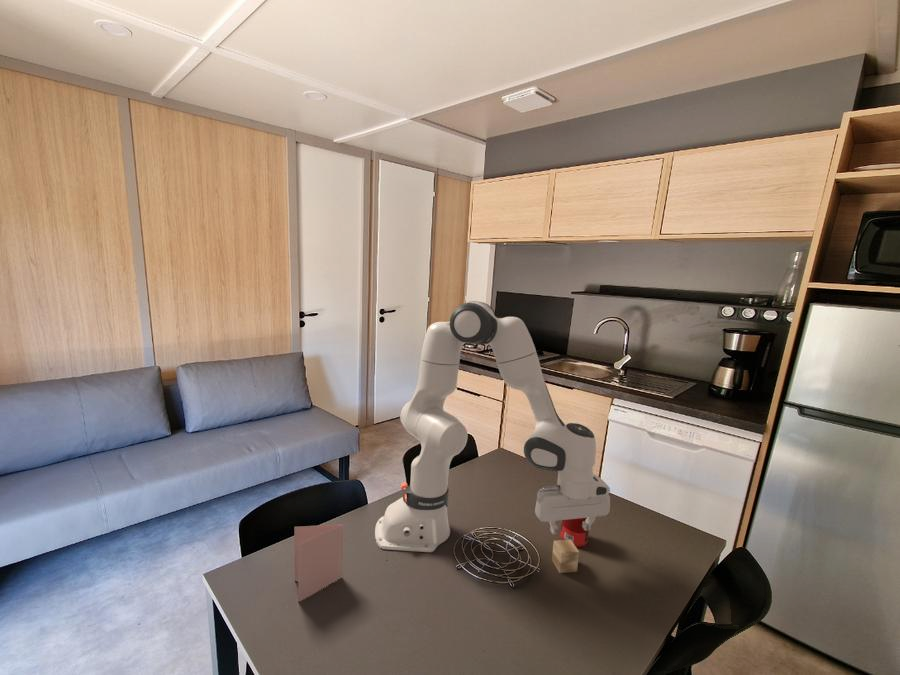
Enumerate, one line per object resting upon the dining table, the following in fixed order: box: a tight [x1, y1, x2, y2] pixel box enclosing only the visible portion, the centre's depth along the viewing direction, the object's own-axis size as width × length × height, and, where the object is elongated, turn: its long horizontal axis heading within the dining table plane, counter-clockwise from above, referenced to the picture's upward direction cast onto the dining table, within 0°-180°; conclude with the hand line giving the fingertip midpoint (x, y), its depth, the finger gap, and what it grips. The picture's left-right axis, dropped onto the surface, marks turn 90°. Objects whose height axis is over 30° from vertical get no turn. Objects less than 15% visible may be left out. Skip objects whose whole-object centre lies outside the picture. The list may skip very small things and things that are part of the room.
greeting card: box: [293, 523, 344, 603], centre depth 95 cm, size 11×7×15 cm, turn 100°
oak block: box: [551, 539, 580, 574], centre depth 109 cm, size 5×5×6 cm
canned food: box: [560, 518, 590, 548], centre depth 119 cm, size 8×8×11 cm
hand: (570, 530), depth 108 cm, fingers open, 8 cm apart
